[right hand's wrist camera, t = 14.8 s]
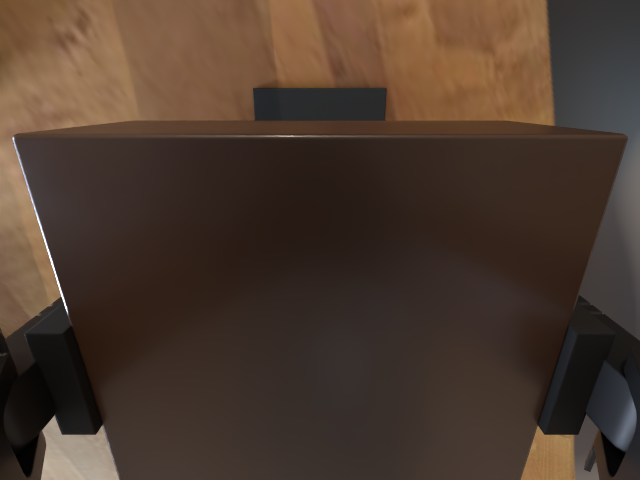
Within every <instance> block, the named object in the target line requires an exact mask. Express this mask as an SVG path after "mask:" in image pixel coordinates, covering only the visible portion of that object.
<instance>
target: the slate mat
mask: <svg viewBox="0 0 640 480" xmlns="http://www.w3.org/2000/svg"><path fill="white" fill-rule="evenodd" d="M253 92H254V108H255V121H384V118H385V102H386V88H253Z"/></svg>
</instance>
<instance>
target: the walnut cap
mask: <svg viewBox="0 0 640 480" xmlns="http://www.w3.org/2000/svg"><path fill="white" fill-rule="evenodd" d="M627 140H628V138H627V136H626V135H624V134H620V133H611V132H602V131H593V130H583V129H575V128H566V127H557V126H548V125H539V124H530V123H521V122H513V121H126V122H118V123H109V124H100V125H91V126H82V127H73V128H64V129H55V130H46V131H37V132H28V133H19V134H16V135H14V136H13V142H14V146H15V149H16V152H17V155H18V158H19V162H20V165H21V168H22V171H23V174H24V178H25V181H26V184H27V187H28V190H29V193H30V197H31V200H32V203H33V206H34V209H35V213H36V216H37V219H38V222H39V225H40V228H41V232H42V235H43V238H44V241H45V244H46V248H47V251H48V254H49V257H50V260H51V263H52V267H53V270H54V273H55V276H56V279H57V283H58V286H59V289H60V292H61V295H62V299H63V302H64V305H65V308H66V311H67V314H68V318H69V321H70V324H71V327H72V330H73V333H74V336H75V339H76V342H77V346H78V349H79V352H80V355H81V358H82V362H83V365H84V368H85V371H86V374H87V378H88V381H89V384H90V387H91V390H92V393H93V397H94V400H95V403H96V406H97V409H98V413H99V416H100V419H101V422H102V426H103V429H104V432H105V435H106V439H107V442H108V445H109V448H110V451H111V455H112V458H113V461H114V464H115V467H116V470H117V474H118V477H119V480H521V477H522V474H523V470H524V467H525V464H526V461H527V458H528V455H529V451H530V448H531V445H532V442H533V439H534V436H535V432H536V429H537V426H538V422H539V419H540V416H541V412H542V409H543V406H544V403H545V400H546V397H547V393H548V390H549V387H550V384H551V381H552V377H553V374H554V371H555V368H556V365H557V362H558V358H559V355H560V352H561V349H562V346H563V342H564V339H565V336H566V333H567V330H568V327H569V324H570V321H571V318H572V315H573V312H574V309H575V305H576V302H577V299H578V296H579V293H580V289H581V286H582V283H583V280H584V277H585V274H586V270H587V267H588V264H589V261H590V258H591V254H592V251H593V248H594V245H595V242H596V239H597V236H598V232H599V229H600V226H601V223H602V220H603V216H604V213H605V210H606V207H607V204H608V201H609V197H610V194H611V191H612V188H613V185H614V182H615V178H616V175H617V172H618V169H619V166H620V162H621V159H622V156H623V153H624V150H625V147H626V143H627Z"/></svg>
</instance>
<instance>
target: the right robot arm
mask: <svg viewBox="0 0 640 480" xmlns="http://www.w3.org/2000/svg"><path fill="white" fill-rule="evenodd" d="M586 414H587V415H588V416H589V418H590V419H591V420H592V421H593V422H594V423H595V425H596V426H597V427H598V428H599V430H598V432H597V434H596V437H595V439H594V442H593V444H592V447H591V449H590V452H589V454H588V457H587V459H586V461H585V467H584V470H586V471H589V472H590V471H591V469H592V466H593V464H594V463H596V462H597V467H598V473H599V479H600V480H640V341H639V340H638V339H637V338H635V337H634V336H633V335H631V334H630V333H629V332H627V331H626V330H625V329H623V328H622V327H621V326H619V325H618V324H617V323H615V322H614V321H613V320H611V319H610V318H609V317H607V316H606V315H605V314H602V312H601V311H599V310H598V309H597V308H596V307H594V306H593V305H590V303H589V302H588V301H586V300H585V299H584V298H582V297H581V296H580V295H579V296H578V299H577V302H576V305H575V309H574V312H573V315H572V318H571V321H570V324H569V327H568V330H567V333H566V336H565V339H564V342H563V346H562V349H561V352H560V355H559V358H558V362H557V365H556V368H555V371H554V374H553V377H552V381H551V384H550V387H549V390H548V393H547V397H546V400H545V403H544V406H543V409H542V412H541V416H540V419H539V422H538V426H539V427H540V429H541V430H542V432H543V433H544V435H578V434H579V431H580V429H581V426H582V423H583V421H584V418H585V416H586ZM54 415H55V417H56V420H57V423H58V425H59V428H60V431H61V433H62V435H96V434H97V432H98V431H99V429H100V428H101V426H102V422H101V419H100V416H99V413H98V409H97V406H96V403H95V400H94V397H93V393H92V390H91V387H90V384H89V381H88V378H87V374H86V371H85V368H84V365H83V362H82V358H81V355H80V352H79V349H78V346H77V342H76V339H75V336H74V333H73V330H72V327H71V324H70V321H69V318H68V314H67V311H66V308H65V305H64V302H63V299H62V296H61V297H60V298H59V299H57V300H56V301H55V302H53V303H52V304H51V307H47V308H46V309H44V310H43V311H42V312H40V313H39V316H35V317H34V318H32V319H31V320H30V321H29V322H27V323H26V324H25V325H23V326H22V327H21V328H19V329H18V330H17V331H15V332H14V333H13V334H11V335H10V336H9V337H8V338H6V339H5V338H4V336H3V333H2V331H1V329H0V480H41V474H42V468H43V462H44V456H45V450H46V441H45V437H44V434H43V432H42V429H43V428H44V427H45V426H46V425H47V423H48V422H49V421H50V420H51V419H52V418H53V416H54Z"/></svg>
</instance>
